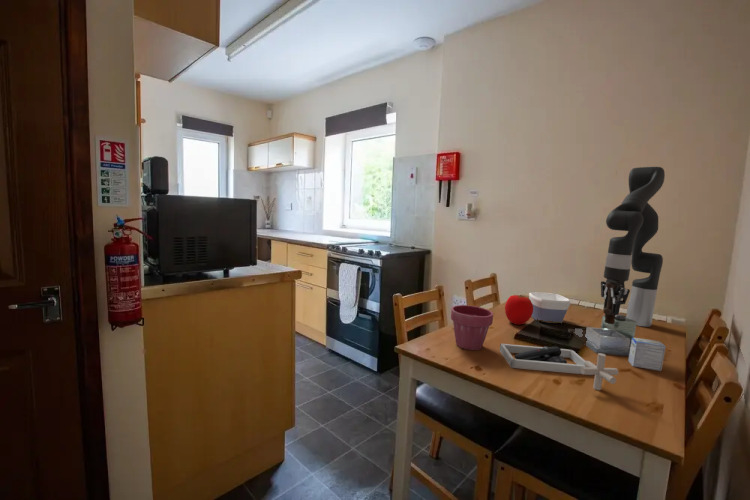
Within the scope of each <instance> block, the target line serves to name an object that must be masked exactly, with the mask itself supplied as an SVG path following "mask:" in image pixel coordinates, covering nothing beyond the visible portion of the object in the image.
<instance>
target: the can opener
mask: <svg viewBox="0 0 750 500" xmlns="http://www.w3.org/2000/svg"><path fill="white" fill-rule="evenodd" d="M561 349H562V348H560V347H559V346H551V347H549V346H547V345H546V346H545V345H544V346H543V348H541V349H535V350H530V351H526V352H522V353H515V355H514V357H513V358H514V359H522V360H533V361H544V362H555V363H566V364H568V361H567V360H566V358H565V357H562V356H560V355H561Z"/></svg>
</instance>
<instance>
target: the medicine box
mask: <svg viewBox="0 0 750 500" xmlns="http://www.w3.org/2000/svg"><path fill="white" fill-rule="evenodd" d="M665 352H666V345H665V344H663V343H662V342H661V341H660V340H654V339H648V338H646V339H645V338H641V337H639V338H638V337H634V338H632V341H631V347H630V353H629V356H628V362H629V364H630V365H631V366H632V367H635V368H642V369H647V370H652V371H657V372H658V371H659V372H662V369H663V364H664V358H665Z"/></svg>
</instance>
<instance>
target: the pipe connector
mask: <svg viewBox="0 0 750 500" xmlns="http://www.w3.org/2000/svg"><path fill="white" fill-rule="evenodd" d="M606 357H607V354H602V353H597V358H596V359H597V360H596V364H594V362H592V361H589V360H585V363H584V365H585V366H586V367H587V368H581V369H580V371H581V373H582V374H581V375H586V374H588V375H587V376H593V375H594V381H593V386H592V388H593V389H594V390H597V391H601V390H602V384H603V379H604V380H605V381H606V382H608V383H610V384H611V385H614V384H616V382H617V378H616V377H615V376H618V375H619V370H618V368H616V367H605V364H606Z"/></svg>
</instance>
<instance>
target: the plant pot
mask: <svg viewBox="0 0 750 500" xmlns="http://www.w3.org/2000/svg"><path fill="white" fill-rule="evenodd" d="M450 319H451V320H452V323H453V332H454V333H453V334H454V339H455V344H456V346H458V347H460V348H462V349H465V350H468V351H469V350H470V351H479V350H481V349H482V348H483V346H484V343H485V340H486V337H487V334H488V332H489V328H490V326H492V325H493V322H494V321H493V320H494V313H493V311H491V310H490V309H487V308H484V307H481V306H480V307H479V306H476V305H470V304H469V305H467V304H460V305H459V304H458V305H454V306H452V307H451V312H450Z"/></svg>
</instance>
